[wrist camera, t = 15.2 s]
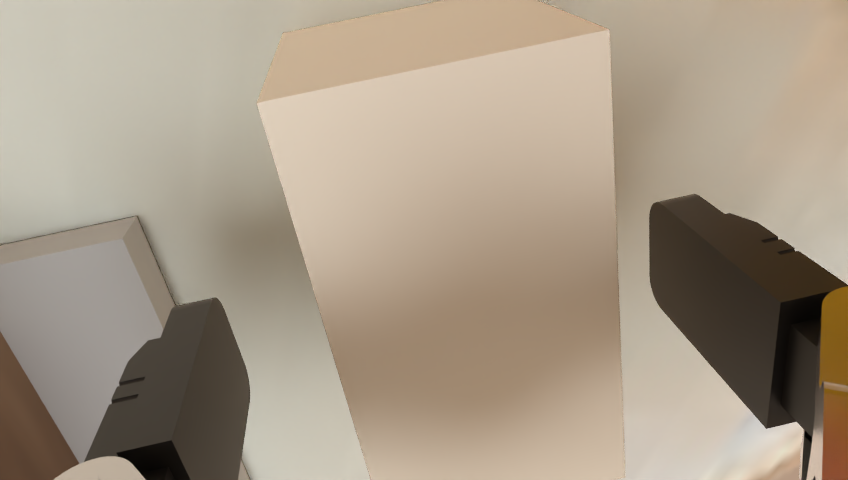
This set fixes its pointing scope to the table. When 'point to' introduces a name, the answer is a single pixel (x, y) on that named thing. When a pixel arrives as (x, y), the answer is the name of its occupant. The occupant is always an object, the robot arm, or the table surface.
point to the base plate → (81, 317)
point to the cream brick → (460, 233)
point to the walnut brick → (27, 428)
